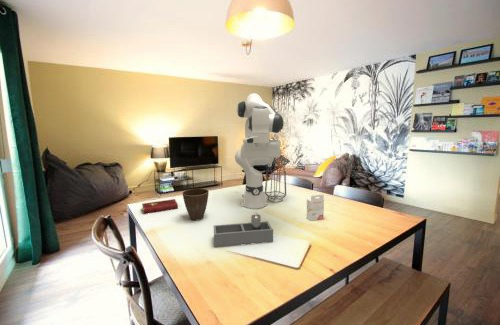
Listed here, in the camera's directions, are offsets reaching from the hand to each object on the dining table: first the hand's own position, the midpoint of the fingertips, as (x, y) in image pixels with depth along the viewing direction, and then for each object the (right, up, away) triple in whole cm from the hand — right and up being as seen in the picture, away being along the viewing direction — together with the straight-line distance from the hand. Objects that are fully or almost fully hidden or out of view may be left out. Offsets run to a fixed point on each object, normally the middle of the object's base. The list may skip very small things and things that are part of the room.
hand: (260, 166), depth 118 cm
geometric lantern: (+14, -26, +54) cm, 62 cm away
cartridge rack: (-9, -35, -7) cm, 36 cm away
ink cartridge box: (+32, -31, +18) cm, 48 cm away
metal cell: (-3, -33, -6) cm, 34 cm away
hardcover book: (-65, -29, +37) cm, 81 cm away
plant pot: (-37, -31, +20) cm, 52 cm away
